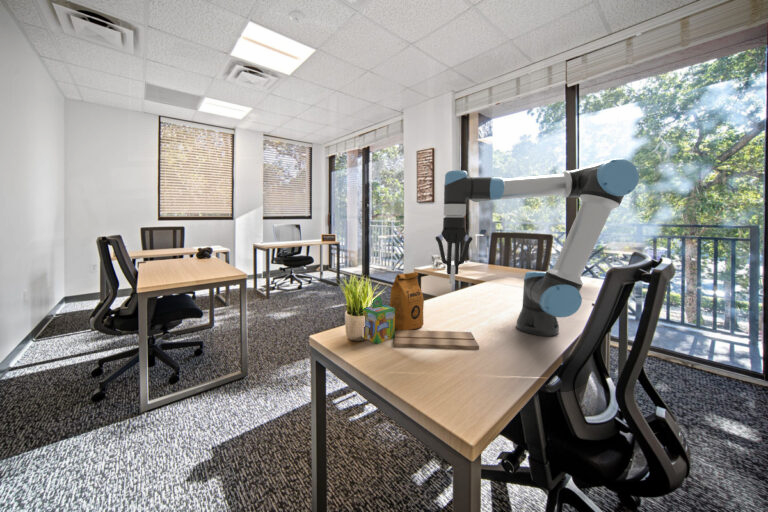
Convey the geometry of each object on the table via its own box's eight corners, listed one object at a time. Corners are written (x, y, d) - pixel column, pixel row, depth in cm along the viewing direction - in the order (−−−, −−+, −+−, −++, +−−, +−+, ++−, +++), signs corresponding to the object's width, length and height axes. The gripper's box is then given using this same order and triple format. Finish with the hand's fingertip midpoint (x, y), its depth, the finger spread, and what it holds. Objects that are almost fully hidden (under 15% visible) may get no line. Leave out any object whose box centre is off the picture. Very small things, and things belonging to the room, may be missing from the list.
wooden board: (470, 336, 117) (471, 332, 117) (479, 350, 105) (479, 346, 105) (394, 334, 118) (395, 330, 118) (394, 347, 106) (394, 343, 106)
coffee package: (427, 328, 124) (428, 273, 122) (402, 335, 117) (403, 276, 114) (410, 322, 132) (411, 269, 130) (386, 327, 125) (387, 272, 122)
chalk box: (377, 345, 108) (377, 303, 106) (359, 337, 115) (359, 297, 113) (395, 338, 114) (396, 298, 113) (378, 331, 121) (378, 293, 119)
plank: (470, 335, 117) (471, 332, 117) (474, 342, 111) (474, 338, 111) (394, 332, 118) (395, 329, 118) (394, 339, 112) (394, 336, 112)
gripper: (471, 216, 114) (468, 281, 117) (434, 216, 114) (432, 280, 117) (475, 217, 106) (472, 286, 109) (436, 216, 107) (434, 285, 110)
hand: (452, 283), depth 113 cm, fingers closed
